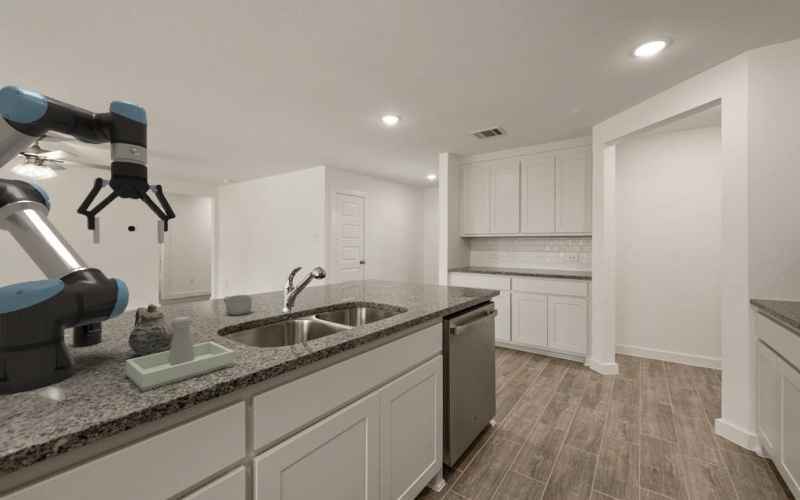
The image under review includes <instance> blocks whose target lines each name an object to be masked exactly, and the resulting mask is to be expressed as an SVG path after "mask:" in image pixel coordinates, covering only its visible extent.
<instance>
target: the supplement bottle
mask: <svg viewBox="0 0 800 500" xmlns="http://www.w3.org/2000/svg"><path fill="white" fill-rule="evenodd" d="M102 339H103V322H102V321H100V322H95V323H91V324H86V325H82V326H77V327H72V345H73V347H87V346H88V345H89V346H93V344H94V345H98V344H100V343H101V342H102V341H103V340H102Z"/></svg>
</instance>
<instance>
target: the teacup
mask: <svg viewBox="0 0 800 500" xmlns="http://www.w3.org/2000/svg"><path fill="white" fill-rule="evenodd" d="M252 297H253V296H252V295H250V294H235V295H231V296H229V295H227V296H225V297H224V298H223V303H224V305H225V308H226V309H225V310H226V312H227V313H228V314H230V315H231V316H235V317H237V316H243V315H246V314H248V313H249V312H250V311H251V309H252V302H253V301H252Z"/></svg>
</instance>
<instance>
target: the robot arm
mask: <svg viewBox="0 0 800 500" xmlns="http://www.w3.org/2000/svg"><path fill="white" fill-rule="evenodd" d="M108 110H109V111H108V112H99V113H98V112H94V111H91V110H88V109H85V108H82V107H79V106H76V105H74V104H71V103H67V102H64V101H61V100H59V99H55V98H53V97H50V96H47V95H45V94H42V93H40V92H38V91H36V90H35V91H34V90H30V89H27V88H23V87H19V86H17V85H6V86H3V87H2V88H1V89H0V169H1V168H3V167H4V166H5V165H7V164H8V163H9V162H11V161H12V160H13V159H14V158H16V157H17V156H18V155H19V154H22V152H23V151H25V150H26V149H27V148H29V147H30V146H31V145H33V144H34V143H35V142H36V141H38V140H39V139H40V138H41V137H43V136H45V134H48V132H51V131H52V132H56V133H60V134H62V135H66V136H70V137H73V139H74V138H75V139H76V140H77V141H78V142H80V143H83V144H87V145H90V144H91V145H102V144H110V160H112V162H111V163H110V179H109V180H108V179H103V178H102V177H96V178H95V179H94V181H93V187H92V189H90V191H89V192H88V194H87V195H86V197H85V198H84V200H83V201H82V202H81V204H80V205H79V207H78V208H77V210H76V213H77V214H79V215H82V216H85V217H86V223H87V224H86V225H87V226H86V227H87V229H88V231H92V233H93V234H92V237H93V238H92V239H93V241H92V242H93V244H100V243H101V241H100V239H101V238H100V237H101V235H100V217H99V216H98V217H97V216H96V215H98V214H99V213H100V212H101V211H102V210H104V209H105V208H106V207H107V206H109V205H110V204H111V203H112V202H113V201H115V199H117V198H121V199H125V200H126V199H131V200H139V199H140V200H141V201H142V202H143V203H145V205H147V207H148V208H149V209H150V210H151V211H153V213H154V214H155V215H156V216H157V217H158V218H159V220H157V244H165V233H166V232H168V231H169V220H172V219H175V218H177V217H176V216H177V215H176V214H175V212H174V211H173V208H172V206H171V205H170V203H169V202H168V200H167V198H166V196H165V195H164V193H163V186H162V185H161V184H156V185H155V184H151V185H150V184H149V182H148V179H149V178H148V175H149V174H148V167H147V164H148V119H147V118H148V117H147V111H146V109H144V107H143V106H141V105H138V104H136V103H134V102H129V101H125V100H113V101H111V103H109V108H108ZM106 186H109V187H110V189H111V190H113V191H112V192H111V193H110V194H109V195H107V196H106V197H105V198H104V199H103V200H101V201H100V202H99V203H98V204H97V205H95V206H94V207H93V208H92V209H90V210H89V207H90V206H91V205H92V203H93V202H94V200H95V199H96V197H97V196H98V194H99V193H100V192H101V189H103V188H106ZM150 190H151V192H152V193H153V194H154V195H155V197H156V198H157V200H158V202H159V204H160V206H161V208H162V209H163V210H162V209H161V208H160V207H159V206H158V205H157V204H156V203H155V202H154V200H152V198H151V197H150V196H149V194H148V192H149V191H150ZM49 200H50V196H49V195H48V193H47V192H46V191H45V190H44V188H43V187H41V186H40V185H38V184H36V183H33V182H29V181H24V180H20V179H9V178H0V230H2V231H7V232H8V233H9V234H10V236H12V237H13V238H14V240H15V241H16V242H17V243H18V245H19V246H20V247H21V248H22V250H24V252H25V253H26V254H27V255H28V257H29V258H30V259H31V261H33V263H34V264H35V265H36V266H37V267H38V269H39V270H40V271H41V272H42V274H43V275H44V276H45V277H46V279H41V280H40V279H39V280H30V281H23V282H17V283H13V284H8V285H4V286H1V287H0V395H4V394H5V395H6V394H13V393H19V392H23V391H29V390H33V389H38V388H42V387H45V386H49V385H52V384H56V383H58V382H60V381H63V380H65V379H68V378H69V377H71V376H73V375H74V374H75V372H76V369H75V368H76V363H75V361H74V359H73V357H72V355H71V352H70V351H69V349H68V347H67V345H66V342H65V341H66V340H65V330H67V329H73V327H77V326H82V325H86V324H91V323H95V322H100V321H102V323H103V322H106V321H108V320H111V319H115V318H118V317H119V316H121V315H122V314H123V313H124V312H125V310H126V309H127V307H128V304H129V300H130V298H129V297H130V292H129V288H128V286H127V284H126V283H125V281H124V280H123V279H121V278H117V277H111V278H108V277H107V276H106V275H105V274H104V272H102V270H100V269H99V268H97V267H93V266H92V267H91V266H90V267H89V265H88V264H87V263H86V261H85V260H84V259H83V257H81V256H80V254H79V253H78V252H77V251H76V250H75V249H74V248H73V246H72V245H71V244H70V243H69V242H68V240H67V239H66V238H65V237H64V236H63V234H62V233H61V232H60V231H59V230H58V229H57V228H56V227H55V225H54V224H53V223H52V222H51V221H50V219H49V218H48V217H49V213H50V210H51V202H50V201H49Z"/></svg>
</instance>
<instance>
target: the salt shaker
mask: <svg viewBox="0 0 800 500" xmlns="http://www.w3.org/2000/svg"><path fill="white" fill-rule="evenodd" d="M171 324H172V327H173V328H174V332H173V337H172V342H171V347H170V352H169V357H168V361H169V364H170V365H171V366H173V365H177V364H181V363H185V362H189V361H193V360H194V358H195V354H194V350H193V346H192V345H193V342H192V335H191V332H190V326H191V325H192V318H191V317H190V316H186V315H185V316H179V317H178V316H177V317H174V318H173V319H171Z"/></svg>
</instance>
